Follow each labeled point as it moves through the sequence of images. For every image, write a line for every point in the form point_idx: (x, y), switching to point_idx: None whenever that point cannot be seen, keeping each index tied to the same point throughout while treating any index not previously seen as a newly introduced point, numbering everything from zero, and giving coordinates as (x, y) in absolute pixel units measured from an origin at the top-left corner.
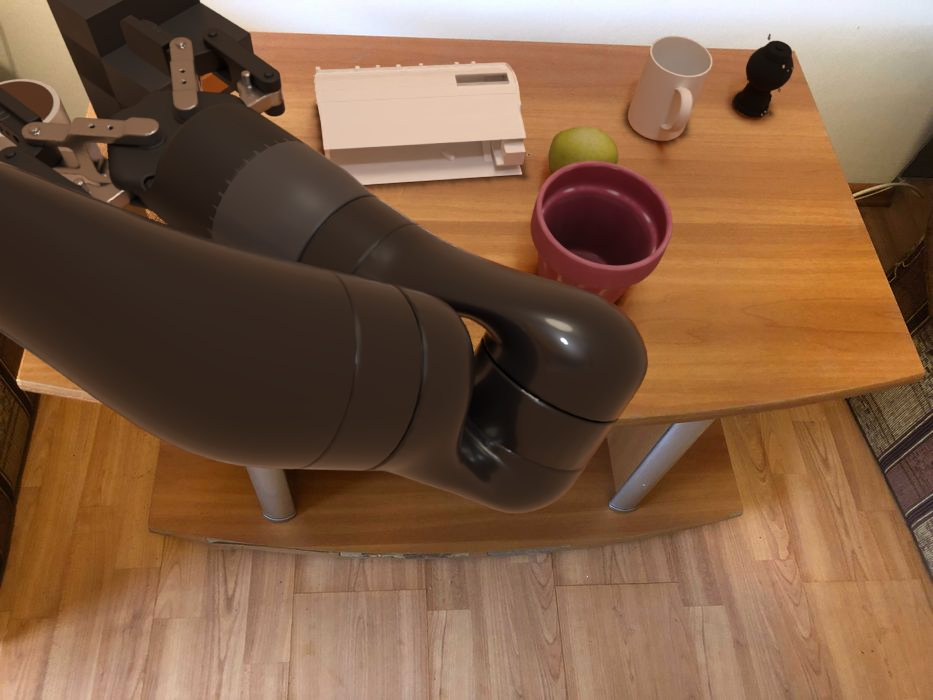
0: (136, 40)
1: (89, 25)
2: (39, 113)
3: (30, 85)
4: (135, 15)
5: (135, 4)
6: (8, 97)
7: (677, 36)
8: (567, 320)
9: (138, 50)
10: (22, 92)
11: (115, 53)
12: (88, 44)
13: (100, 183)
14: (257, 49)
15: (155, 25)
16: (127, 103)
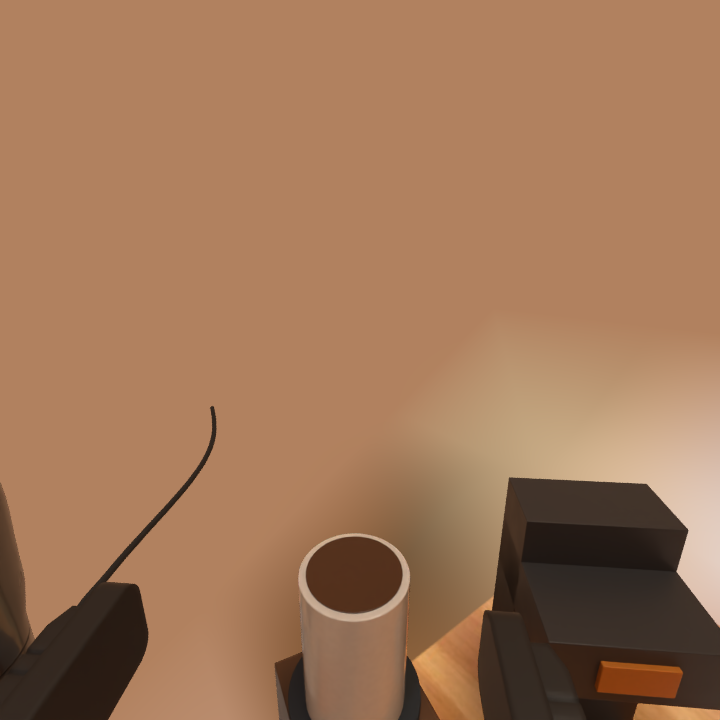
0: (493, 686)
1: (527, 528)
2: (364, 601)
3: (392, 559)
4: (585, 544)
5: (592, 535)
6: (88, 627)
7: None
8: None
9: (487, 706)
10: (377, 561)
11: (539, 566)
12: (517, 542)
13: (401, 715)
14: None
15: (570, 692)
16: None
